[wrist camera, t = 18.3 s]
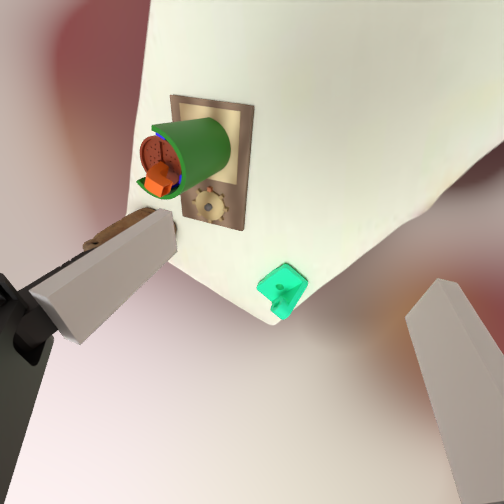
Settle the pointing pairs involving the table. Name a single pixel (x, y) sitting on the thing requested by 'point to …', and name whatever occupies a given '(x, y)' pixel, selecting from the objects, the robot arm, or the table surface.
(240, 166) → the mounting board
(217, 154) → the motor
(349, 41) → the table surface
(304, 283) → the camera mount
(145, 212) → the block
